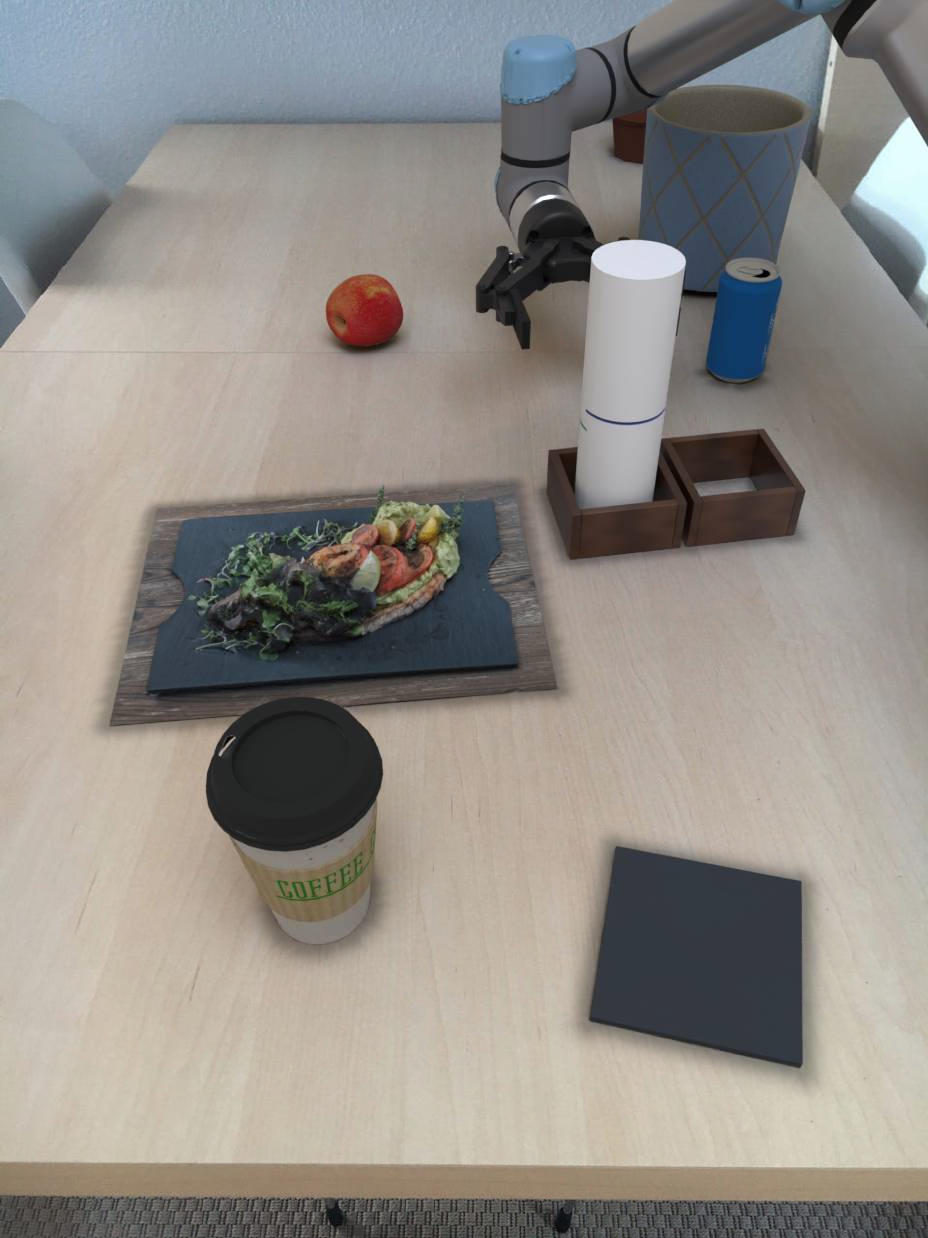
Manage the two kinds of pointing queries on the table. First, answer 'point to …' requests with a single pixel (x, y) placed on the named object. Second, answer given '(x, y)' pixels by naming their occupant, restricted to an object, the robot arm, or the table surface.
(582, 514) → the stand
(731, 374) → the beverage can
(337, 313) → the apple
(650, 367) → the cylindrical container
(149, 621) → the plated dish
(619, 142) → the muffin
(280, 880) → the coffee cup
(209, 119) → the table surface
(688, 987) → the mat
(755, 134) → the planter
